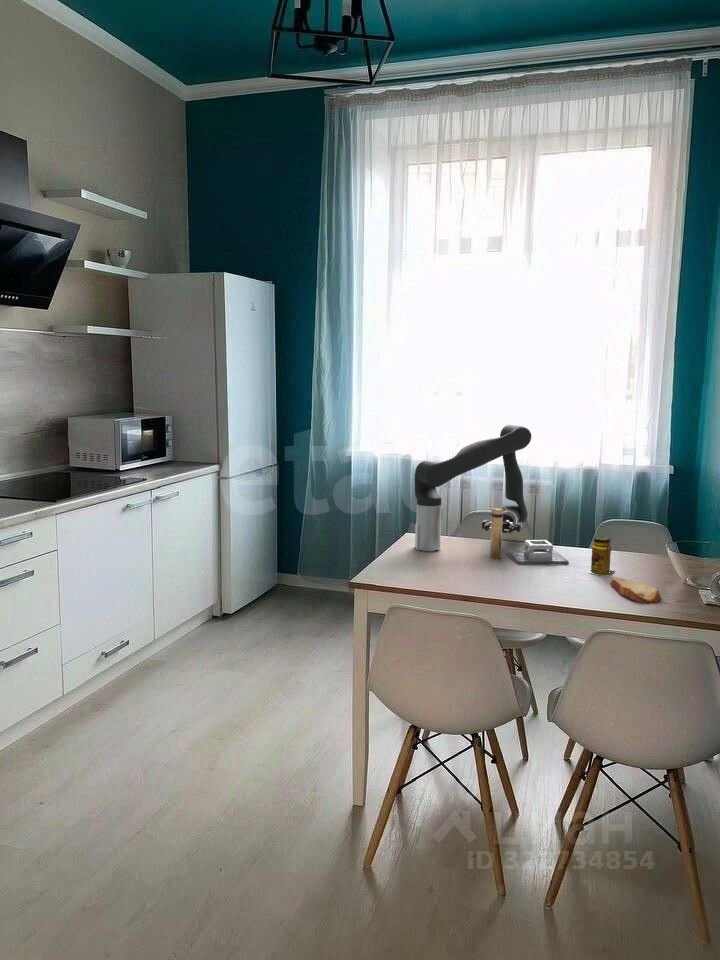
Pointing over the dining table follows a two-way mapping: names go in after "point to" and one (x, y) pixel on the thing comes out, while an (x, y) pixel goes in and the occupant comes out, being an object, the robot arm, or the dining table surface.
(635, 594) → the slice of bread
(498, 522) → the wooden peg
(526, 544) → the grey socket base
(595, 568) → the condiment
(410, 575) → the dining table surface
